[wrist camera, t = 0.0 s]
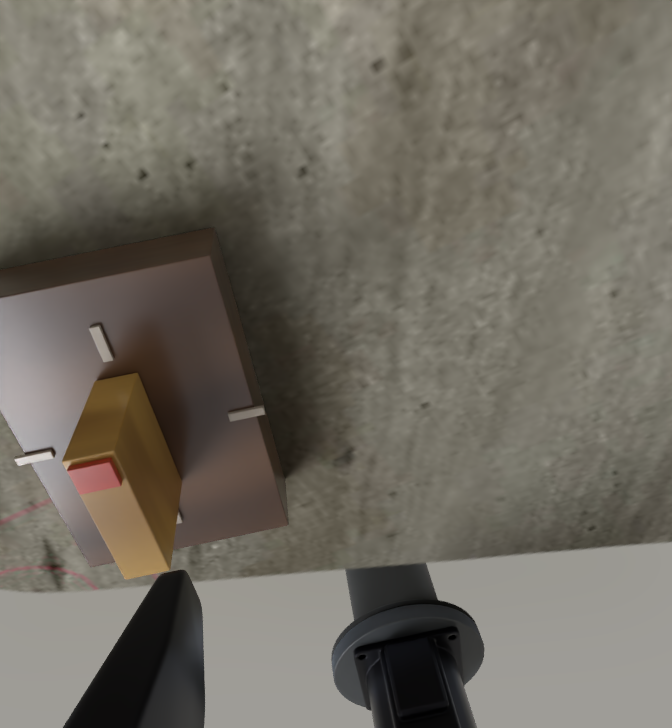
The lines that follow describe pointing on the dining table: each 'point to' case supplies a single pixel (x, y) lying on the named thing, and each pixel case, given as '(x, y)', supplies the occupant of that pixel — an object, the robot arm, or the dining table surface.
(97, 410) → the lock knob
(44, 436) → the panel
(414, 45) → the dining table surface
